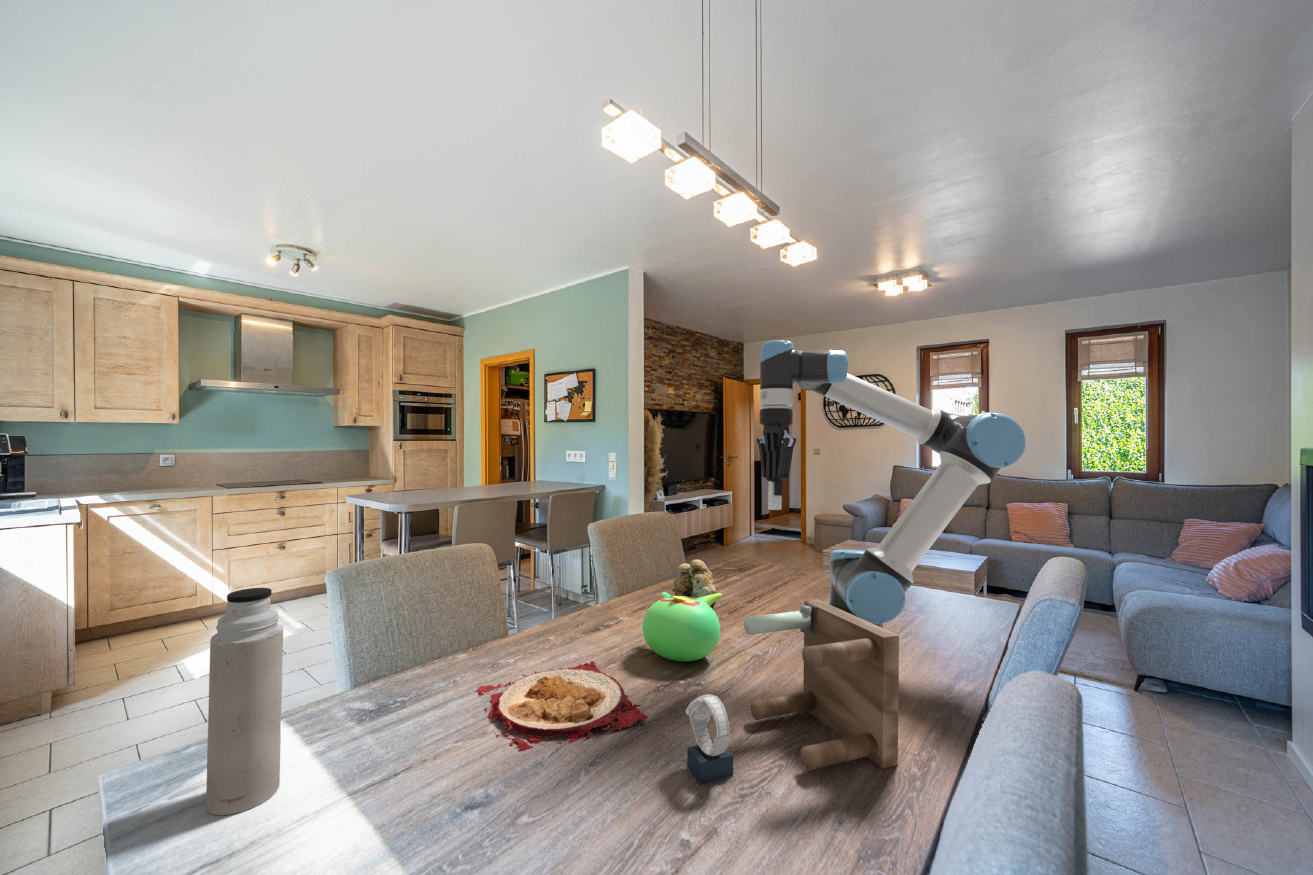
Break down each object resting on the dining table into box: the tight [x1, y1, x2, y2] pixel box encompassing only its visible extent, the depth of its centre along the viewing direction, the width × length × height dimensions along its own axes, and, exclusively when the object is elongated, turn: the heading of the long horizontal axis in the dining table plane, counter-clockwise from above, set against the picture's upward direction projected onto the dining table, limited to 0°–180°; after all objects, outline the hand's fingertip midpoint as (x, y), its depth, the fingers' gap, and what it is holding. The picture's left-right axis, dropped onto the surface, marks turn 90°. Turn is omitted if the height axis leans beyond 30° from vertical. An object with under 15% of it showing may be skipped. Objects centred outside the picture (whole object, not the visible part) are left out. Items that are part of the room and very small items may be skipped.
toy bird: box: [642, 591, 723, 662], centre depth 123 cm, size 18×17×15 cm
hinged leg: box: [743, 605, 812, 636], centre depth 96 cm, size 13×3×4 cm, turn 110°
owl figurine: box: [671, 559, 721, 623], centre depth 148 cm, size 18×12×17 cm, turn 34°
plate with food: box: [477, 661, 649, 752], centre depth 99 cm, size 25×26×4 cm
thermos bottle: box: [205, 587, 284, 816], centre depth 73 cm, size 8×8×28 cm
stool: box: [749, 599, 900, 771], centre depth 89 cm, size 15×20×20 cm
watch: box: [685, 694, 734, 786], centre depth 80 cm, size 6×8×11 cm
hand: (774, 509), depth 124 cm, fingers closed
